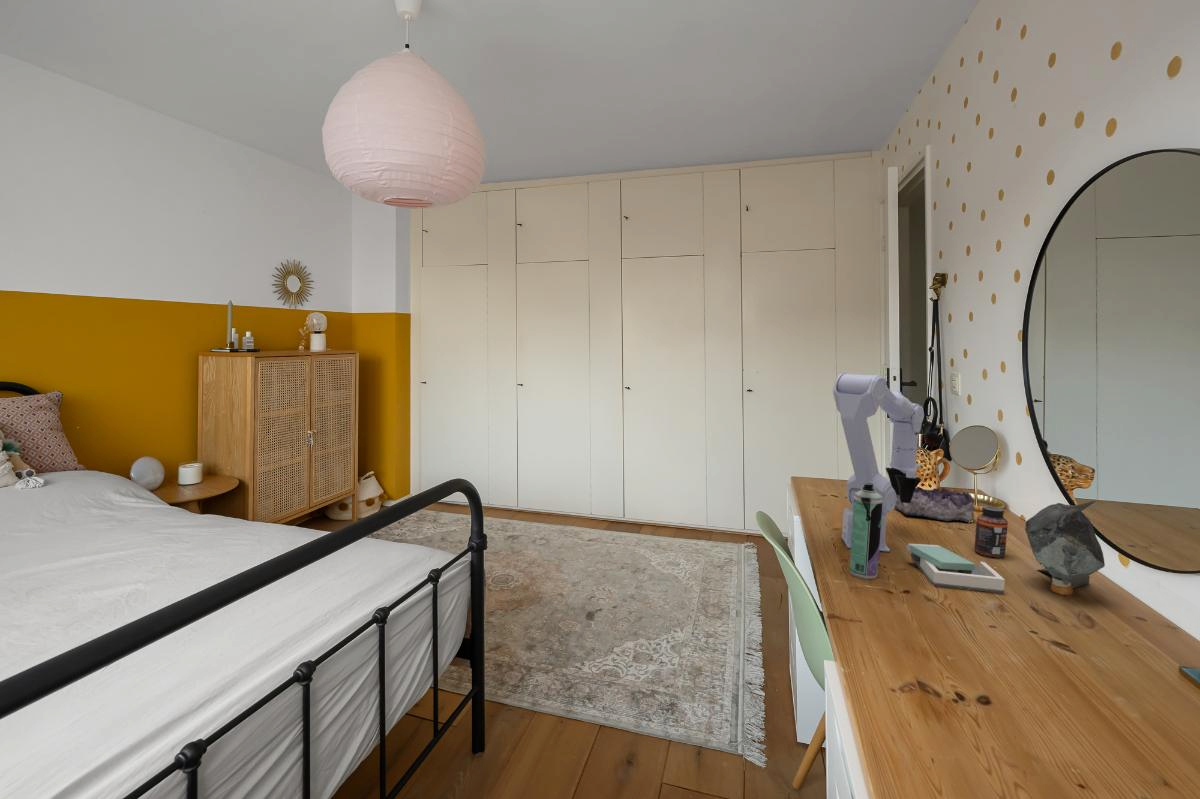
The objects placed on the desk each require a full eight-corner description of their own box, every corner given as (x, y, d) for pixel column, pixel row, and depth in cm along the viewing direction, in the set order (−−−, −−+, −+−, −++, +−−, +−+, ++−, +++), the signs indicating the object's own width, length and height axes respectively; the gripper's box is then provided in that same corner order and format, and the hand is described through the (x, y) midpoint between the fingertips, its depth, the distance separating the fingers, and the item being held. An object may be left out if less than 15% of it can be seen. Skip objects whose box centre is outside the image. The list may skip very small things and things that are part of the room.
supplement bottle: (1005, 561, 122) (1009, 513, 121) (973, 554, 125) (977, 508, 124) (1004, 553, 126) (1008, 507, 125) (974, 547, 130) (978, 503, 129)
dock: (933, 586, 108) (934, 572, 108) (911, 559, 122) (912, 546, 122) (1003, 594, 105) (1004, 579, 105) (972, 565, 119) (973, 552, 119)
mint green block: (938, 577, 109) (941, 562, 109) (904, 556, 120) (906, 543, 120) (973, 578, 110) (976, 564, 110) (937, 558, 121) (939, 545, 120)
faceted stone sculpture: (998, 578, 112) (1005, 496, 111) (1044, 568, 118) (1051, 490, 116) (1079, 609, 99) (1088, 516, 97) (1126, 596, 104) (1135, 508, 103)
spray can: (881, 580, 111) (887, 487, 109) (853, 577, 112) (858, 486, 110) (873, 569, 116) (878, 481, 114) (846, 567, 117) (851, 479, 115)
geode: (968, 515, 156) (973, 484, 154) (977, 532, 146) (983, 499, 144) (891, 503, 164) (895, 474, 162) (894, 519, 154) (899, 487, 152)
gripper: (931, 454, 130) (927, 507, 131) (912, 444, 143) (909, 492, 145) (899, 452, 131) (896, 505, 133) (884, 442, 145) (881, 490, 147)
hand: (900, 498), depth 139 cm, fingers open, 7 cm apart
